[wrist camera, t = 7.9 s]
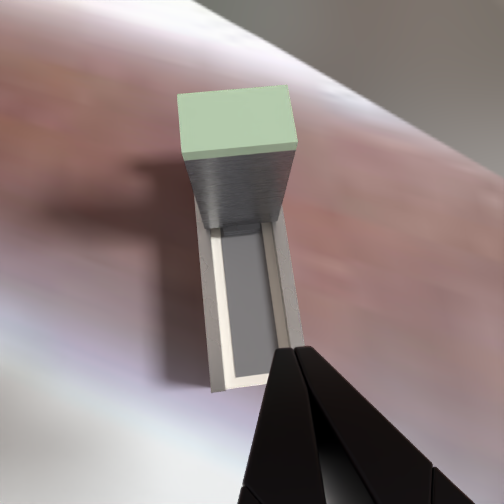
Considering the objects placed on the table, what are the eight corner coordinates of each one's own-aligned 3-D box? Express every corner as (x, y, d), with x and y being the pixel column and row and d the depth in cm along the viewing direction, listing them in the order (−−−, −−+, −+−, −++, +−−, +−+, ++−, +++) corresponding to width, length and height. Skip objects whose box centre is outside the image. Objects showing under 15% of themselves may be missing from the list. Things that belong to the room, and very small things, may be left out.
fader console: (302, 376, 20) (316, 380, 16) (214, 388, 20) (207, 395, 16) (268, 160, 24) (273, 122, 20) (195, 167, 24) (185, 131, 20)
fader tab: (276, 231, 20) (299, 149, 12) (206, 239, 20) (182, 160, 12) (269, 183, 21) (285, 78, 13) (202, 190, 21) (176, 87, 13)
